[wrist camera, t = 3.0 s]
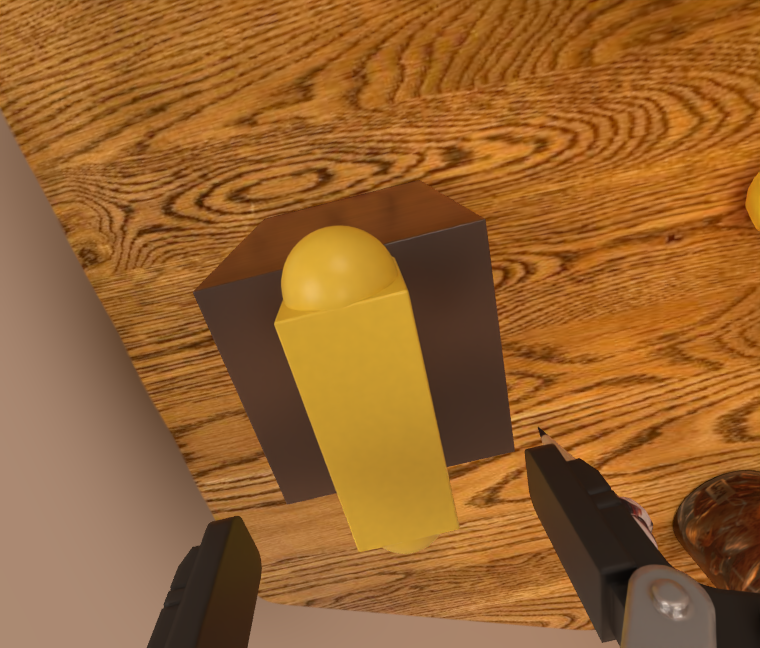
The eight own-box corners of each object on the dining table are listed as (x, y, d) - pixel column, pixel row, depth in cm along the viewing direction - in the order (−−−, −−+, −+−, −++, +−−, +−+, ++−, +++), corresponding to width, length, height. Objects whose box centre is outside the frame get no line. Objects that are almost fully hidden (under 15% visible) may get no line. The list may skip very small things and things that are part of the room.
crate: (263, 219, 29) (191, 291, 16) (419, 179, 29) (486, 218, 15) (310, 355, 34) (286, 505, 20) (445, 322, 33) (515, 451, 20)
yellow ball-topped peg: (271, 231, 15) (249, 260, 11) (382, 203, 15) (393, 224, 11) (366, 509, 21) (370, 585, 17) (446, 490, 20) (467, 562, 17)
